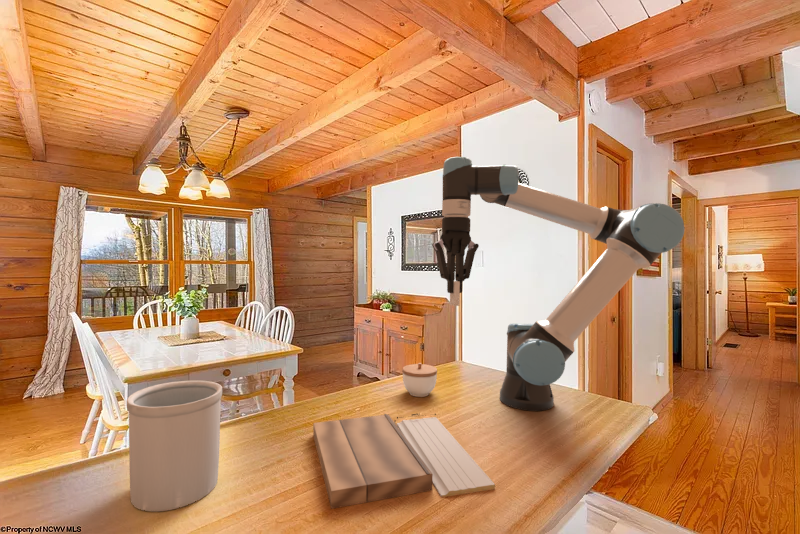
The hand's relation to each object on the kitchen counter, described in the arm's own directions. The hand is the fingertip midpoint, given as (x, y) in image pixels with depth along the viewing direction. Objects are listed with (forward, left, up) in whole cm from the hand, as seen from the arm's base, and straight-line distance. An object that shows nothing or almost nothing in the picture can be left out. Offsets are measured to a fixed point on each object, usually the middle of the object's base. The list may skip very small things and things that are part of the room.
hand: (454, 305), depth 107 cm
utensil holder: (+63, +17, -30) cm, 72 cm away
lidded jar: (+3, -17, -30) cm, 34 cm away
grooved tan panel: (+28, +17, -29) cm, 44 cm away
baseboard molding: (+13, +18, -30) cm, 38 cm away
